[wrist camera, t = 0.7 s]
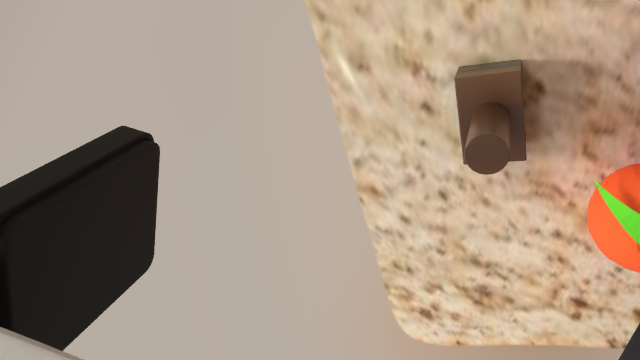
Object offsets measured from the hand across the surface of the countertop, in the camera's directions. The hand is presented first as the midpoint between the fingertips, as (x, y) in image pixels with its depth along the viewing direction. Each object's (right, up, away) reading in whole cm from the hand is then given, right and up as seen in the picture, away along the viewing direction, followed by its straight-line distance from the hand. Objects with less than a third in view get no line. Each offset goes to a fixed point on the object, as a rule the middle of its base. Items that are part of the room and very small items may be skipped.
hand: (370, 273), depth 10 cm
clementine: (+20, +1, +28) cm, 34 cm away
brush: (+11, +7, +28) cm, 31 cm away
